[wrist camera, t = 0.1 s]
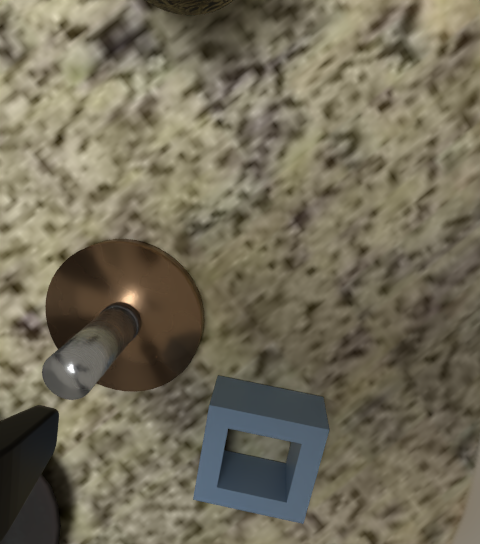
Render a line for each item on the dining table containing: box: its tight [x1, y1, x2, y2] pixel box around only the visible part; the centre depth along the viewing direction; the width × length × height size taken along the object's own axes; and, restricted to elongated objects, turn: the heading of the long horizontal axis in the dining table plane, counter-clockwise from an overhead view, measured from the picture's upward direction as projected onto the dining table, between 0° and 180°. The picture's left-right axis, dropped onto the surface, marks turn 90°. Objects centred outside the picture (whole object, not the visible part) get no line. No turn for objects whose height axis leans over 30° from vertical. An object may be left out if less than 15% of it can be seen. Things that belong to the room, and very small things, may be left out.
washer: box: [193, 376, 329, 524], centre depth 23 cm, size 6×6×3 cm
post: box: [42, 239, 204, 400], centre depth 20 cm, size 9×9×7 cm
